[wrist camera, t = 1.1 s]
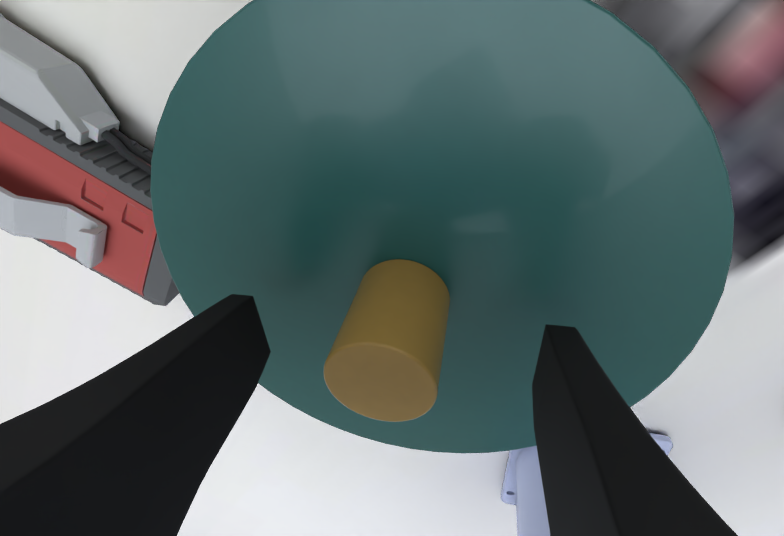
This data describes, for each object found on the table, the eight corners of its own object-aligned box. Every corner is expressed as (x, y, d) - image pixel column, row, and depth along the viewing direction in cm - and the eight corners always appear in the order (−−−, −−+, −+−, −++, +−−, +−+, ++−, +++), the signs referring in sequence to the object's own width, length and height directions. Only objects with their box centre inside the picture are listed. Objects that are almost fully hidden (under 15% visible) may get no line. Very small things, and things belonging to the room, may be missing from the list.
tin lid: (616, 455, 15) (652, 593, 12) (247, 399, 18) (189, 495, 15) (874, -80, 6) (1315, -156, 3) (80, -18, 9) (-158, -20, 6)
